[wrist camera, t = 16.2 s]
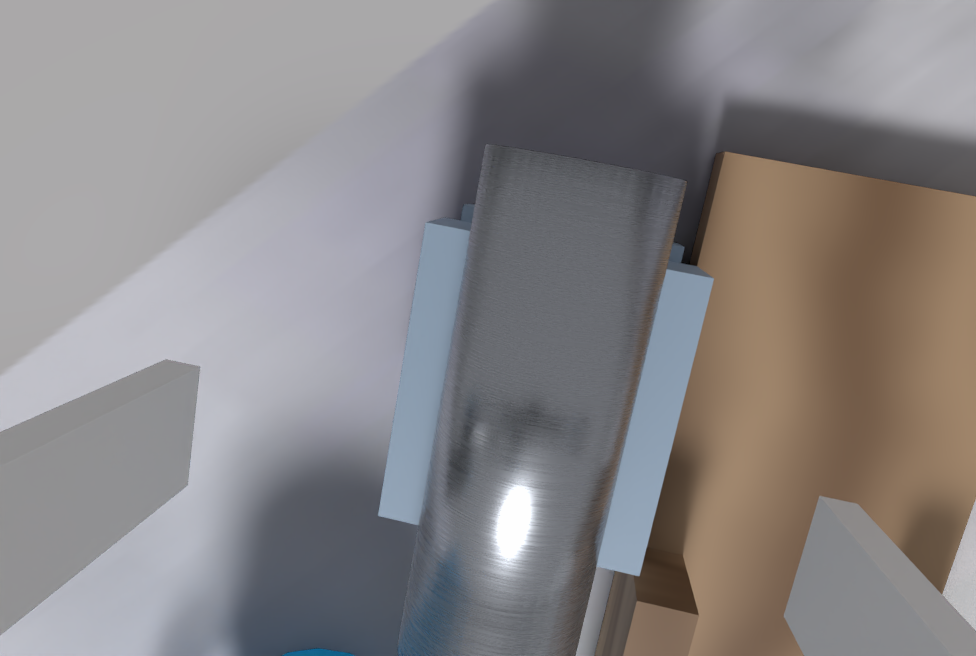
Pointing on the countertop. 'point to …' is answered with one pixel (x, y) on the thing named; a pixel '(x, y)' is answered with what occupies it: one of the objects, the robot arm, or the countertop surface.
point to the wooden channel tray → (808, 401)
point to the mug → (317, 653)
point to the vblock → (649, 420)
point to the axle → (536, 401)
